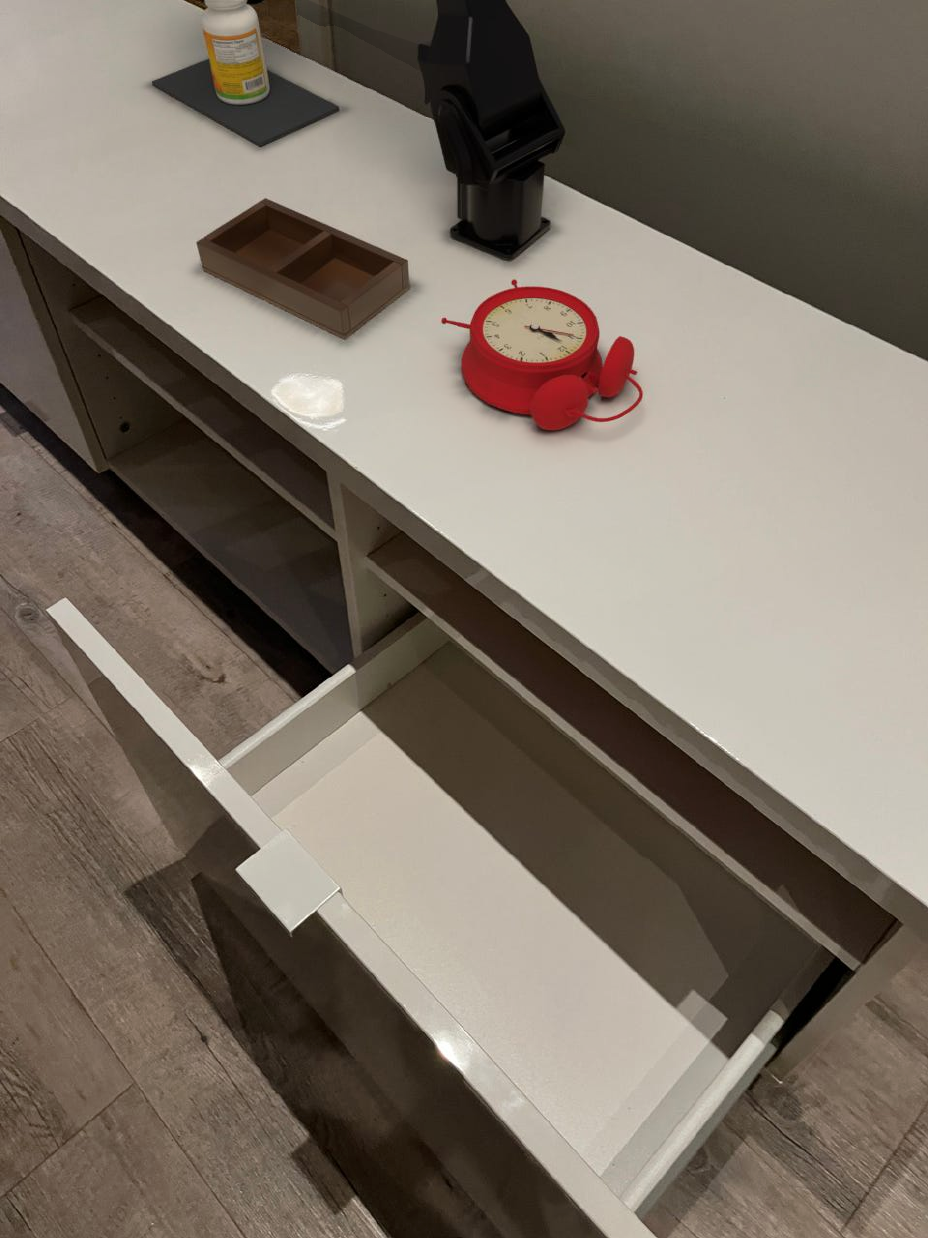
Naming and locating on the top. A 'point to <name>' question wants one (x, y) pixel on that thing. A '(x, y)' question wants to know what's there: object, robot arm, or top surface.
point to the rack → (304, 267)
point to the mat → (255, 121)
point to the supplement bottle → (235, 51)
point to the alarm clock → (542, 356)
